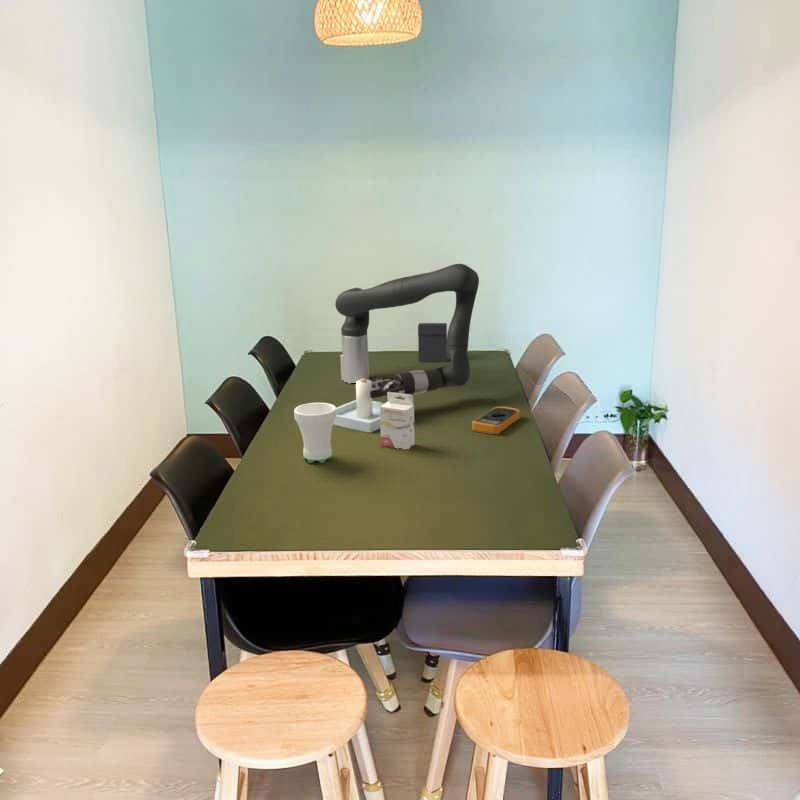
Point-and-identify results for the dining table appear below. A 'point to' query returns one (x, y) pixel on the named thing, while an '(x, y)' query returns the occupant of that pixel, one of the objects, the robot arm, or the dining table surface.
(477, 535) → the dining table surface
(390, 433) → the ink cartridge box
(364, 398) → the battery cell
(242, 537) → the dining table surface
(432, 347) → the dark grey box
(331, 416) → the cup
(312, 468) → the dining table surface
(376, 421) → the pale blue square tray
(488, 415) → the multimeter
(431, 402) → the dining table surface
